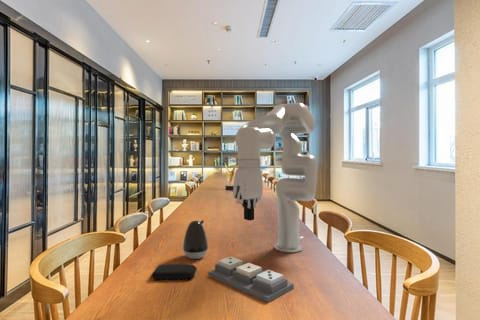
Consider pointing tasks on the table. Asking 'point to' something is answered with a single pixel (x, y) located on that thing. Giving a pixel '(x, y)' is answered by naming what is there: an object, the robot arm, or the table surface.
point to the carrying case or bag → (174, 272)
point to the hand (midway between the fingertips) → (249, 219)
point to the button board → (250, 283)
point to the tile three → (270, 277)
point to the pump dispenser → (195, 241)
